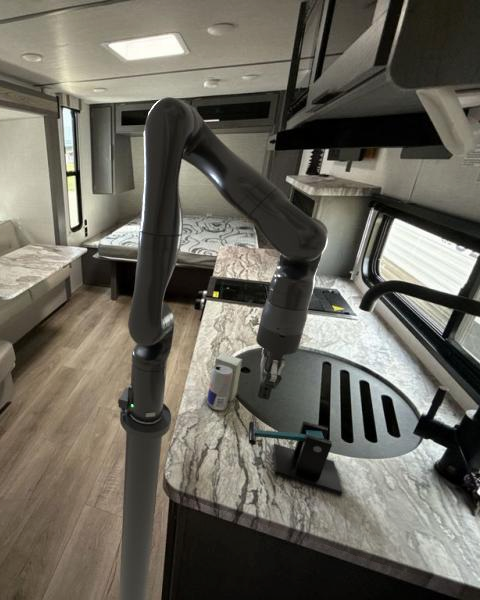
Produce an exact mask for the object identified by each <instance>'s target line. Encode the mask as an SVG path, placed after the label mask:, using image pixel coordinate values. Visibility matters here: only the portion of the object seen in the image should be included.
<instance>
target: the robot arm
mask: <svg viewBox="0 0 480 600" xmlns="http://www.w3.org/2000/svg"><path fill="white" fill-rule="evenodd" d="M143 155H144V156H143V160H144V161H143V164H144V165H143V167H144V168H143V170H144V172H143V174H144V175H143V190H142V200H141V201H142V202H141V212H140V213H141V214H140V223H139V232H138V241H137V259H136V269H135V281H134V290H133V295H132V300H131V306H130V310H129V315H128V321H127V323H128V325H127V328H128V332H129V335H130V337H131V339H132V341H133V342H134V343H135V346H134V347H133V349H132V352H131V368H130V384H129V385H128V387H125V388H124V390H123V392H122V393H121V395H119V398H118V400H117V404H118V408H119V409H120V410H121V409H122V410H123V411H124V410H125V409H126V410H127V416H129V417H131V419H132V420H133V421H134V422H136V423H138V424H141V425H146V426H150V425H154V424H157V423H158V422H160V420H161V419H162V415H163V403H164V400H165V399H164V398H165V390H166V389H165V388H166V377H167V370H168V359H169V357H170V354H171V351H172V347H173V345H172V344H173V339H174V333H175V332H174V331H175V315H174V313H173V310H172V308H171V307H170V306H169V305H168V304H167V303H166V302H164V297H165V293H166V290H167V287H168V285H169V282H170V280H171V277H172V275H173V273H174V271H175V268H176V265H177V262H178V261H179V256H180V251H181V250H180V249H181V246H182V239H183V233H184V232H183V230H184V217H183V215H184V214H183V208H182V203H181V197H180V186H179V185H180V173H181V166H182V160H183V161H185V162H187V163H188V164H190V165H191V166H193V167H195V169H196V170H198V171H199V172H200V173H202V174H203V175H204V176H205V178H207V179H208V181H210V182H211V184H212V185H213V186H214V187H215V189H216V191H217V192H218V193H219V194H220V195H221V196H222V198H223V199H224V200H225V201H226V202H227V203H228V204H229V205H230V206H231V207H232V208H233V210H235V211H236V212H237V213H238V214H239V215H241V216H242V217H243V218H244V219H245V220H247V221H248V222H249V223H250V224H251V225H253V226H254V227H255V228H256V229H257V230H258V231H259V232H260V234H261V235H262V236H263V238H265V240H266V241H267V242H268V243H269V244H270V245H271V246H272V247H273V248H274V249H275V250H276V252H278V253H279V255H278V259H277V262H276V263H277V264H276V268H275V271H274V273H273V274H272V277H271V280H270V283H269V287H268V290H267V291H268V292H267V295H266V300H265V303H264V305H263V308H262V311H261V315H260V320H259V323H258V324H259V325H258V329H257V333H256V338H255V341H256V343H257V345H258V346H259V347H260V348H262V351H261V361H260V365H259V366H260V375H259V377H260V378H259V379H260V380H259V385H258V390H257V397H258V398H259V399H261V400H267V401H268V400H270V397H271V393H272V390H275V389H277V387H278V386H279V384H280V383H281V381H282V379H283V377H282V375H281V372H282V369H283V368H285V364H286V358H284V357H285V356H286V355H293V354H295V353H297V352H298V351H299V348H300V344H301V341H302V337H303V333H304V330H305V326H306V323H307V319H308V313H309V307H310V305H311V299H312V296H313V292H314V288H315V283H316V281H315V280H316V274H317V271H318V268H319V265H320V263H321V259H322V256H323V254H324V251H325V250H326V248H327V246H328V242H329V241H328V240H329V231H328V228H327V226H326V225H325V223H324V222H323V221H321V220H320V219H318V218H316V217H311V216H309V215H308V214H306V213H305V212H303V211H302V210H301V209H300V208H298V207H297V206H296V205H294V204H293V203H292V202H291V201H290V199H289V198H288V196H287V194H285V192H284V191H283V190H282V189H280V187H278V186H277V185H275V184H274V183H273V182H272V181H271V180H270V179H268V178H267V177H266V176H265V175H264V174H262V173H261V172H260V171H259V170H257V169H256V168H255V167H253V166H252V165H250V164H249V163H248V162H247V161H245V160H244V159H243V158H242V157H240V156H239V155H237V154H236V153H235V152H234V151H232V149H230V148H229V147H228V146H227V145H226V144H225V143H224V142H223V141H222V140H221V139H220V138H219V137H218V136H217V135H216V134H215V132H214V131H213V129H211V127H210V126H209V125H208V123H206V121H205V120H204V119H203V117H202V116H201V115H200V113H199V111H198V110H197V109H196V108H195V107H194V106H192V105H190V104H189V103H187V102H186V101H183V100H182V99H179V98H176V97H173V96H166V97H163V98H161V99H159V100H158V101H156V103H154V104H153V106H152V107H151V108H150V110H149V111H148V114H147V116H146V120H145V125H144V131H143Z"/></svg>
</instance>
